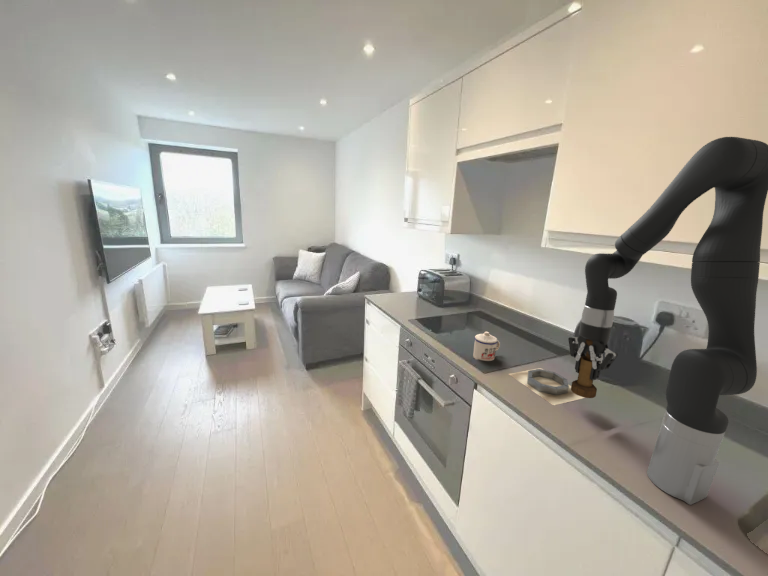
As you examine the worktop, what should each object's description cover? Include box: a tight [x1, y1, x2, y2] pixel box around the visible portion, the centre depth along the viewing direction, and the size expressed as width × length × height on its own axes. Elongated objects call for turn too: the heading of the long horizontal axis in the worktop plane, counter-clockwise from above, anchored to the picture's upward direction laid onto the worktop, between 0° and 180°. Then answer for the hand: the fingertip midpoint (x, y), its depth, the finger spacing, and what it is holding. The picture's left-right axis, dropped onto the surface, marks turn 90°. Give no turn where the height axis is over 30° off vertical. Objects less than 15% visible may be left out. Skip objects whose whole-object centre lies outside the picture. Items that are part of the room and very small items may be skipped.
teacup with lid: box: [472, 331, 501, 362], centre depth 127 cm, size 12×9×12 cm
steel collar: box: [527, 368, 569, 396], centre depth 108 cm, size 12×12×2 cm
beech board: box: [508, 367, 586, 406], centre depth 108 cm, size 20×16×1 cm
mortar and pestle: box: [570, 339, 598, 399], centre depth 92 cm, size 7×6×18 cm
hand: (585, 375), depth 93 cm, fingers closed on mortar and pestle, 4 cm apart
